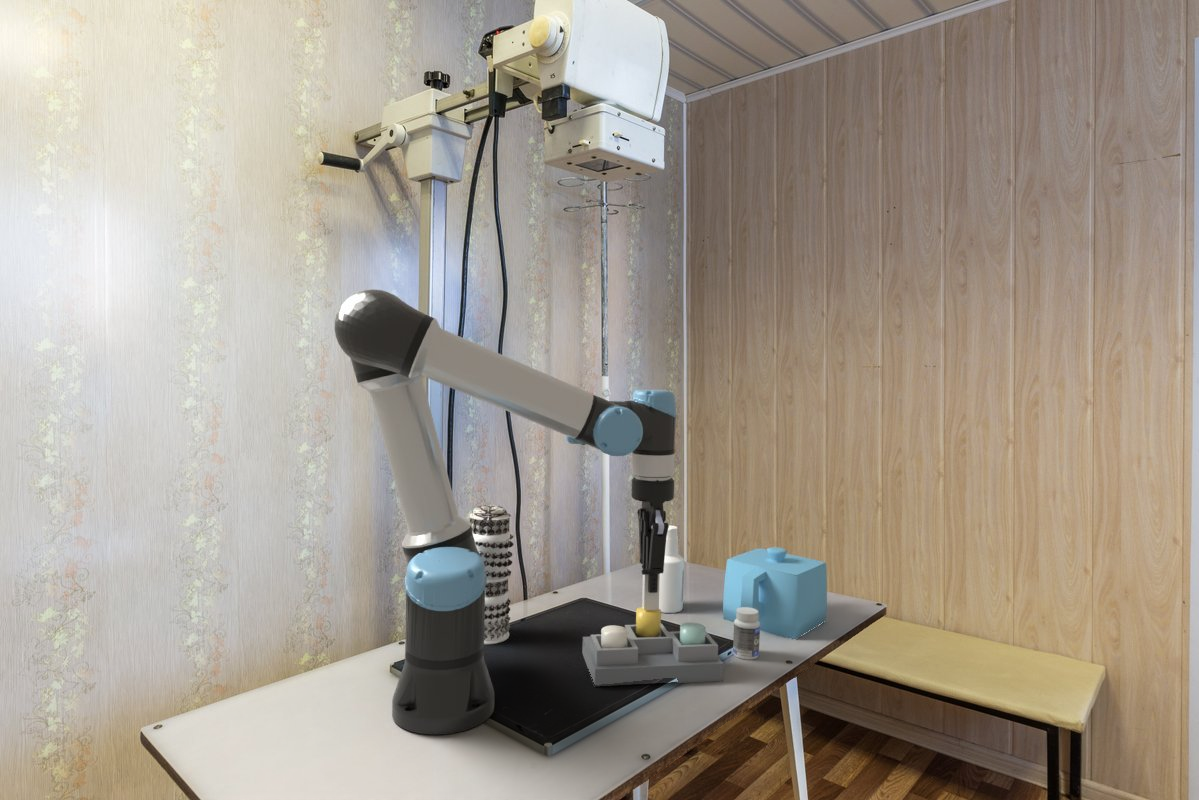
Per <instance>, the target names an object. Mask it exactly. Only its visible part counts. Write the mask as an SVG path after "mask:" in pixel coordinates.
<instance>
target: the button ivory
mask: <svg viewBox="0 0 1199 800" xmlns="http://www.w3.org/2000/svg"><path fill="white" fill-rule="evenodd" d="M600 633H601V648H625V647H627V629H626V628H625V626H620V625H615V624H613V625H606V626H603V627H602V628H601V630H600Z"/></svg>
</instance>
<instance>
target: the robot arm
mask: <svg viewBox="0 0 1199 800" xmlns="http://www.w3.org/2000/svg"><path fill="white" fill-rule="evenodd" d="M334 334H335V335H334V336H335V338H336V341H337V343H338V345H339V346H340V348H341V350H342V351H343V353H344V354H345V355H346V356H348V357H349V358H350V361H351V365H352V368H353V372H354V375H355V378H356V382H357V385H358V386H359V387H361V388H362V389H364V390H366V391H367V392H369V394H370V397H371V399H372V404H373V408H374V411H375V414H376V418H377V419H376V420H377V423H378V427H379V431H380V433H381V437H382V442H383V445H384V449H385V451H386V455H387V456H386V457H387V458H388V463H389V466H390V470H391V474H392V477H393V481H394V486H395V488H396V492H397V496H398V499H399V504H400V507H401V511H402V514H403V518H404V521H405V522H404V523H405V524H406V528H407V533H406V534H405V536H404V538H403V540H402V541H401V546H402V551H403V554H404V559H405V562H406V566H407V568H406V574H405V577H404V589H405V635H404V636H405V639H404V640H405V643H404V644H405V648H404V649H405V650H404V652H405V653H404V654H405V655H404V664H403V667H402V670H401V673H400V675H399V679H398V681H397V684H396V687H395V690H394V694H393V695H392V703H391V705H392V706H391V709H392V710H391V714H392V715H391V718H392V720H393V722H394V723H395V724H397V725H398V726H399V727H401V728H403V729H404V730H406V731H409V732H412V733H416V734H422V735H424V734H425V735H446V734H447V735H448V734H455V733H459V732H463V731H467V730H470V729H473V728H475V727H478V726H479V725H481V724H482V723H485V722H486V721H487V720H488V719H489V718H490V717H491V716H492V715H493V713H494V710H495V690H494V686H493V683H492V681H491V680H492V679H491V677H490V674H489V670H488V668H487V663H486V661H485V658H484V657H485V656H484V655H485V653H484V652H485V651H484V650H485V646H484V645H485V644H484V618H485V586H486V581H487V576H486V571H485V564H484V561H483V559H482V558H481V556H480V553H479V552H478V550H477V548H476V544H475V540H474V537H473V533H472V529H471V526H470V521H467V520H466V519H464V518H462V517H460V515H459V512H458V510H457V509H458V508H457V505H456V502H455V497H454V493H453V490H452V485H451V483H450V478H449V475H448V471H447V468H446V463H445V461H444V456H443V452H442V448H441V445H440V444H441V443H440V441H439V436H438V434H437V430H436V426H435V422H434V418H433V414H432V410H431V406H430V403H429V399H428V396H427V391H426V387H425V383H424V377H425V378H426V379H428V380H432V381H433V382H436V383H439V384H441V385H443V386H446V387H449V388H451V389H452V390H455V391H457V392H460V393H463V394H465V395H466V396H467V395H468V396H470V397H472V398H475V399H477V400H479V401H482V402H484V403H487V404H489V405H492V406H494V407H497V408H500V409H501V410H504V411H507V412H509V413H512V415H513V414H514V415H516V416H518V417H521V418H523V419H525V420H527V421H531V422H533V423H535V424H538V425H540V426H543V427H545V428H547V429H550V430H552V431H555V432H557V433H560V434H562V435H565V440H566V441H567V442H568V444H572V445H582V446H585V445H588V446H590V447H592V448H595V449H597V450H600V452H602V453H603V454H605V455H609V456H611V457H624V456H626V455H629V454H631V474H632V475H633V476H634V477H632V479H631V498H632V499H633V500H635V501H638V502H641V508H638V509H637V513H636V514H637V518H638V539H639V540H638V541H639V542H638V543H639V545H638V546H639V563H640V564H641V575H642V592H641V593H642V595H641V596H642V598H641V603H642V605H641V607H642V608H643V609H644V610H656V609H659V581H660V573H663V571H664V559H665V547H666V536H667V532H668V528H669V523H668V522H665V521H666V520H667V519H666V518H667V516H666V515H667V514H666V511H665V509H664V503H666V502H671V501H672V500H674V498H675V480H674V479H673V477H674V475H675V464H677V463H678V458H677V457H675V453H676V449H675V447H676V446H675V444H676V427H677V425H676V423H677V422H676V421H677V410H676V409H677V406H676V404H677V403H676V395H675V394H674V392H673V391H671V390H666V389H636V390H635V391H633V393H632V394H633V396H632V399H631V400H623V401H621V400H620V401H617V400H614V401H613V400H611V401H610V400H607V399H606V398H602V397H600V396H598V395H595V394H593V393H590V391H586V390H584V389H582V388H579V387H577V386H575V385H574V384H570V383H569V382H566V381H564V380H561V379H559V378H556V377H554V376H552V375H549V374H547V373H545V372H542V371H541V370H538V369H536V368H533V367H531V366H528V365H526V364H524V363H522V362H519V361H517V360H514V359H513V358H510V357H508V356H505V355H503V354H501V353H499V352H496V351H494V350H491V349H489V348H487V347H485V346H482V345H479V344H478V343H476V342H473V341H470V339H469V340H468V339H466V338H464V337H462V336H459V335H458V334H455V333H452V332H450V331H448V330H445V329H443V328H442V327H440V324H439V321H438V319H437V318H435V317H432V316H431V315H428V314H426V313H424V312H423V311H420V310H419V309H416V308H414V307H413V306H411V305H409V304H408V303H406V302H405V301H404V300H402V299H401V298H400V297H398V296H397V295H395V294H393V293H391V292H388V291H385V290H383V289H365V290H363V291H359V292H356V293H354V294H352V295H351V296H349V297H348V298H346V299H345V301H344V302H343V303H342V304H341V305H340V307H339V308H338V310H337V313H336V315H335V320H334Z"/></svg>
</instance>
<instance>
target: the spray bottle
mask: <svg viewBox="0 0 1199 800" xmlns="http://www.w3.org/2000/svg"><path fill="white" fill-rule="evenodd" d="M668 525H669V524H668ZM684 575H685V558H684V557H683V556H681V555H680V554H679V537H678V526H676V525H671V524H670V525H669V528H668V532H667V536H666V547H665V559H664V571H663V573H660V581H659V609H660V610H661V614H662V613H664V614H675V613H679V612H681V611H682V610H683V608H684V605H683V604H684V601H683V600H684V585H685V584H684V583H685V582H684V580H685V579H684V577H685V576H684Z"/></svg>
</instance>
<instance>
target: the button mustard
mask: <svg viewBox="0 0 1199 800" xmlns="http://www.w3.org/2000/svg"><path fill="white" fill-rule="evenodd" d="M635 613H636V614H635V625H636V634H638V635H640V636H643V637H656V636H659V635H660V631H661V624H662V623H661V622H662V612H661V610H660V609H656V610H644V609H643V608H642V606H640V607H637V608H636V612H635Z"/></svg>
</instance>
